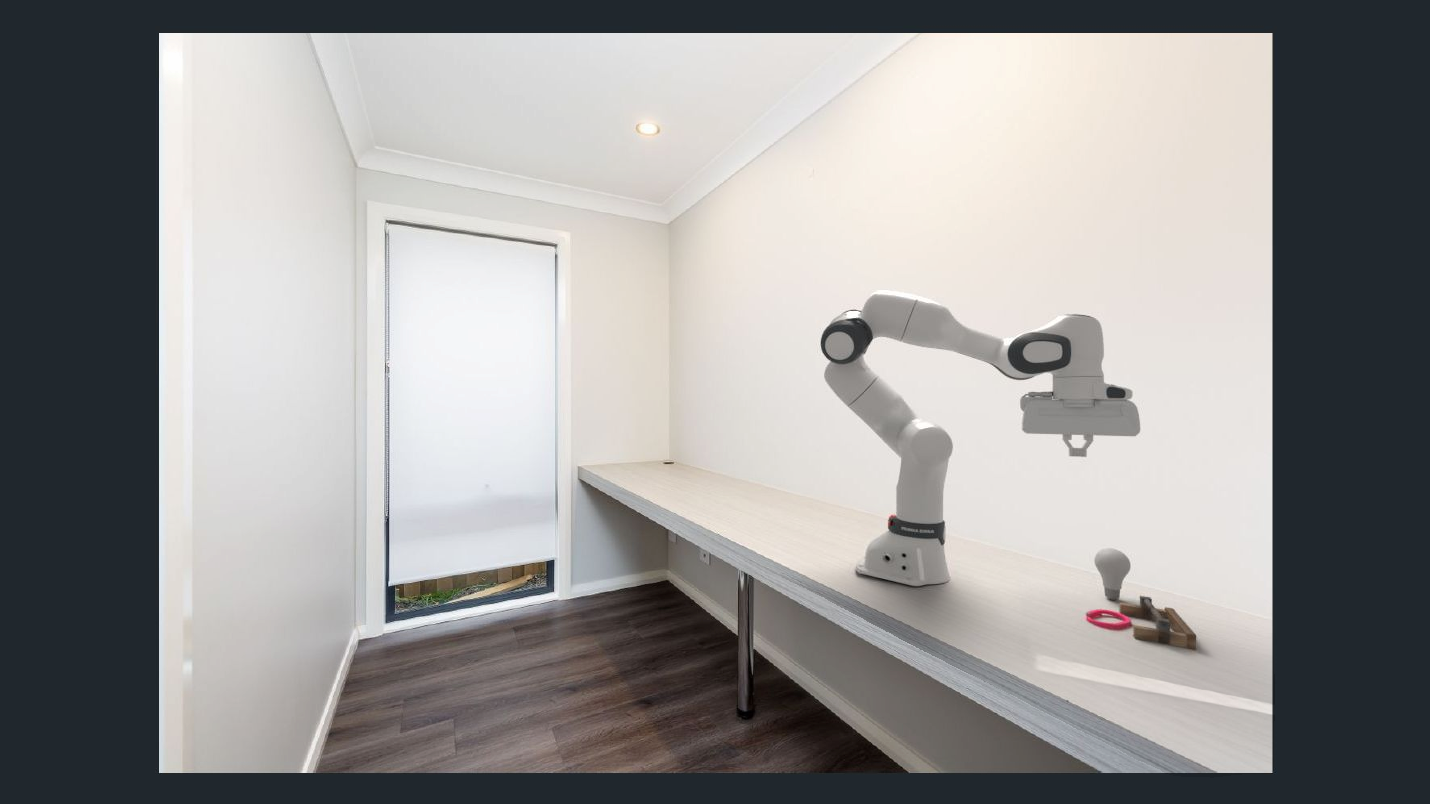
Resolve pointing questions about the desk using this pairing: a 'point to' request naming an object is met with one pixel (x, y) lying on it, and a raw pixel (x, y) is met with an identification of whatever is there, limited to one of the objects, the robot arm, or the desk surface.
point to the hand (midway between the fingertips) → (1077, 456)
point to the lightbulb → (1112, 570)
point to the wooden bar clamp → (1160, 624)
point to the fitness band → (1115, 626)
